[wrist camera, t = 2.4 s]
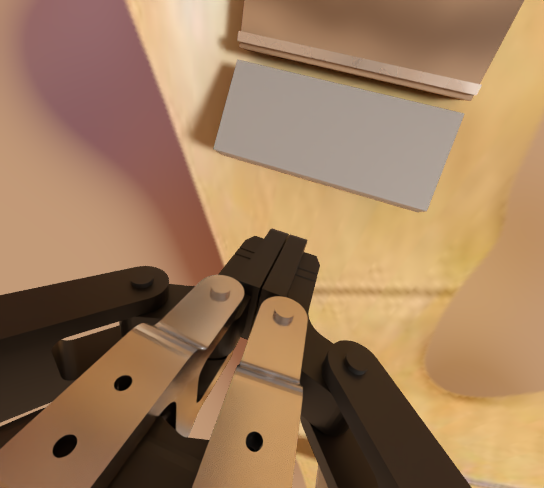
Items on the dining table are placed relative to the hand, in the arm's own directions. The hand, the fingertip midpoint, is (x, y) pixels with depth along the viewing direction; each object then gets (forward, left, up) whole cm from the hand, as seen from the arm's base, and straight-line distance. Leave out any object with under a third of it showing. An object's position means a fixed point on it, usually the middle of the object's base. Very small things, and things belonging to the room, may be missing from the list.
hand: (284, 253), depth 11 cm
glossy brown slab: (-11, -1, -17) cm, 20 cm away
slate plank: (-2, -1, -15) cm, 15 cm away
